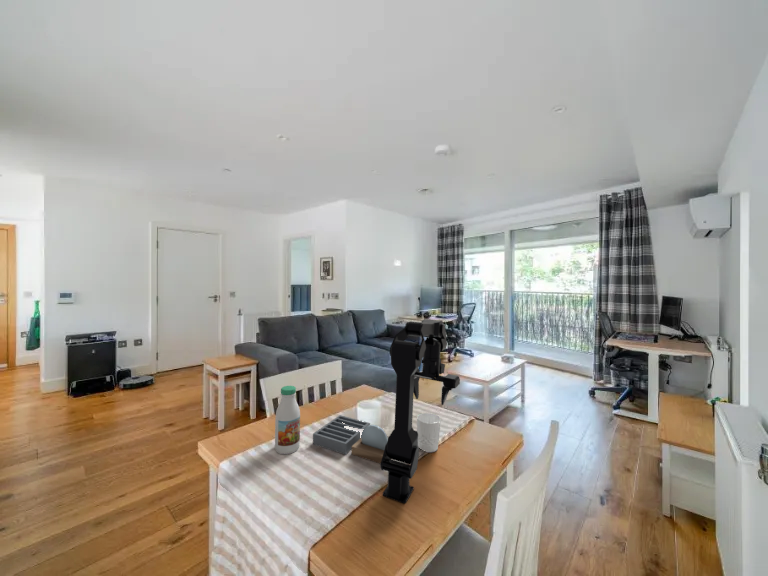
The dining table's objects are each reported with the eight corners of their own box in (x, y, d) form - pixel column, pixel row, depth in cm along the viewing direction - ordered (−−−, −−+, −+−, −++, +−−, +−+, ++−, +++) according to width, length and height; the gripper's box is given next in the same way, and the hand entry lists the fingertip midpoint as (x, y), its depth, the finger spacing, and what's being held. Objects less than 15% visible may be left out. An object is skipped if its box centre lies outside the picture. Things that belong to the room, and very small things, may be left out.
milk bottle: (269, 452, 100) (270, 390, 99) (284, 440, 107) (285, 382, 106) (290, 457, 98) (291, 393, 97) (304, 444, 105) (305, 385, 104)
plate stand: (386, 465, 95) (386, 457, 95) (351, 454, 100) (351, 446, 100) (396, 452, 102) (396, 444, 102) (363, 442, 107) (363, 435, 107)
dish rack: (345, 454, 100) (346, 443, 100) (312, 443, 106) (312, 433, 105) (369, 432, 114) (370, 422, 114) (339, 424, 120) (339, 415, 120)
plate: (385, 458, 99) (386, 430, 98) (360, 450, 103) (361, 423, 102) (387, 456, 100) (388, 428, 99) (362, 448, 104) (363, 421, 103)
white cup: (438, 441, 109) (439, 413, 109) (440, 454, 102) (441, 424, 101) (415, 439, 110) (416, 411, 110) (415, 452, 102) (416, 422, 102)
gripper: (465, 355, 110) (463, 400, 110) (415, 348, 119) (414, 389, 119) (455, 363, 100) (453, 411, 100) (402, 354, 109) (401, 398, 110)
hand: (429, 401), depth 108 cm, fingers open, 9 cm apart
